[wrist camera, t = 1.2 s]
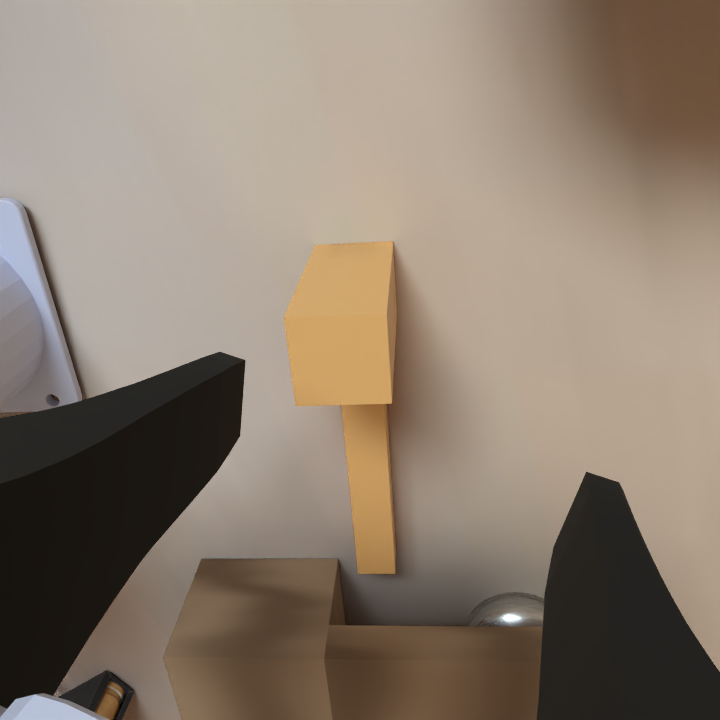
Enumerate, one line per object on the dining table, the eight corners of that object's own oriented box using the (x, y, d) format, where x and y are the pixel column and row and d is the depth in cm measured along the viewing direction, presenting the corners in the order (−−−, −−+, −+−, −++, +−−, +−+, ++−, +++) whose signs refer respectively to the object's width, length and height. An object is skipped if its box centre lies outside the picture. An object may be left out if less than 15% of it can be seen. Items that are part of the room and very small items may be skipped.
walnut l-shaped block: (231, 681, 33) (202, 786, 28) (201, 559, 29) (163, 657, 24) (610, 687, 31) (642, 801, 26) (628, 557, 27) (670, 663, 23)
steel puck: (467, 651, 31) (470, 682, 29) (467, 588, 29) (470, 618, 27) (556, 653, 30) (563, 684, 29) (562, 589, 29) (569, 619, 27)
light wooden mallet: (347, 549, 28) (332, 673, 23) (314, 245, 22) (283, 317, 17) (409, 548, 28) (408, 674, 22) (393, 241, 22) (386, 313, 16)
